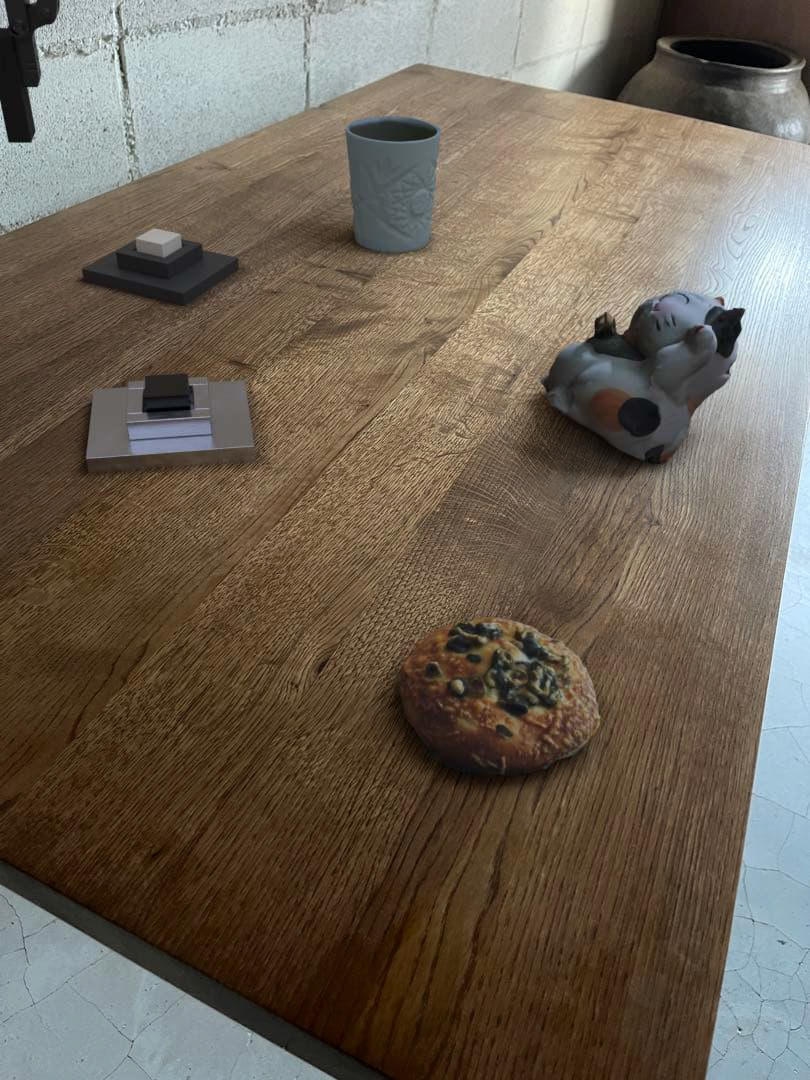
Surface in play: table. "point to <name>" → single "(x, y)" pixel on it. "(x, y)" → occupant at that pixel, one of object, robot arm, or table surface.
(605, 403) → the lucky cat figurine
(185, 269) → the back keypad
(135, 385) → the grey holder base
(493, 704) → the bread roll
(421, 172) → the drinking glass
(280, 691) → the table surface
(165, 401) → the front key
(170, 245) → the back key
